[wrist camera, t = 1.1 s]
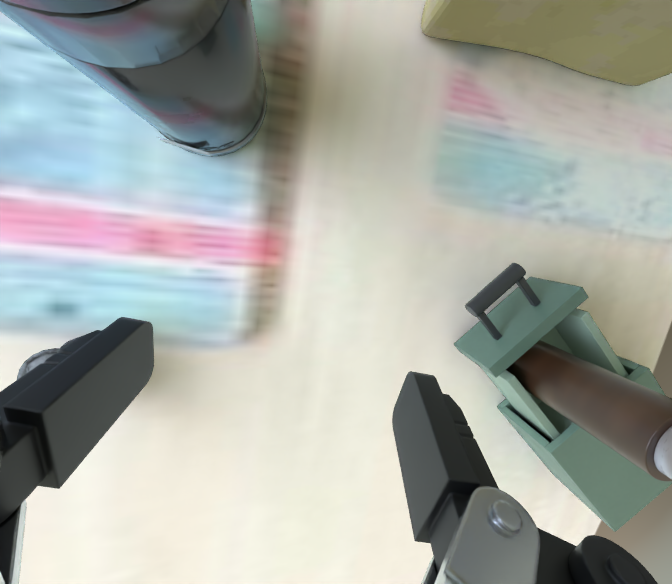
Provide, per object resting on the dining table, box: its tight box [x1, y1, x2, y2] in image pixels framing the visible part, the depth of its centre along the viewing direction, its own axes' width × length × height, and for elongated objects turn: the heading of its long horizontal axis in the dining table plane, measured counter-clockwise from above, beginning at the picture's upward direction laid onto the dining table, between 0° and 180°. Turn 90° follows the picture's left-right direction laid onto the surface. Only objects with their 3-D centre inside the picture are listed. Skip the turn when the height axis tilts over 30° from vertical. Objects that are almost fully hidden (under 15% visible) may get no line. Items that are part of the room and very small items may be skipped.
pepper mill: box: [506, 340, 672, 481], centre depth 24 cm, size 5×5×16 cm
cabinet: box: [497, 356, 672, 531], centre depth 33 cm, size 13×11×7 cm
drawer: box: [454, 263, 629, 442], centre depth 29 cm, size 17×10×6 cm, turn 41°
